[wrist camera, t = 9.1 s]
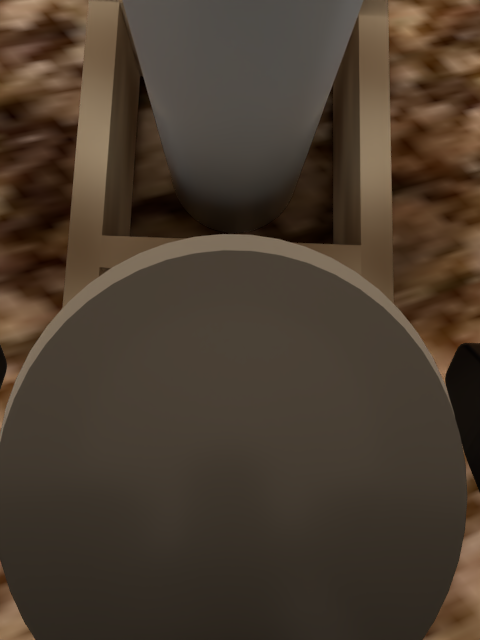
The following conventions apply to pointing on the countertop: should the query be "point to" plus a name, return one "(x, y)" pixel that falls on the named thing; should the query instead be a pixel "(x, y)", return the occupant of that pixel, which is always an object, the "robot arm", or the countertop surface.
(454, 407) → the robot arm
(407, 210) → the countertop surface
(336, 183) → the beech slot rack
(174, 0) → the blue shaker
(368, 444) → the cylinder
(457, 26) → the countertop surface
